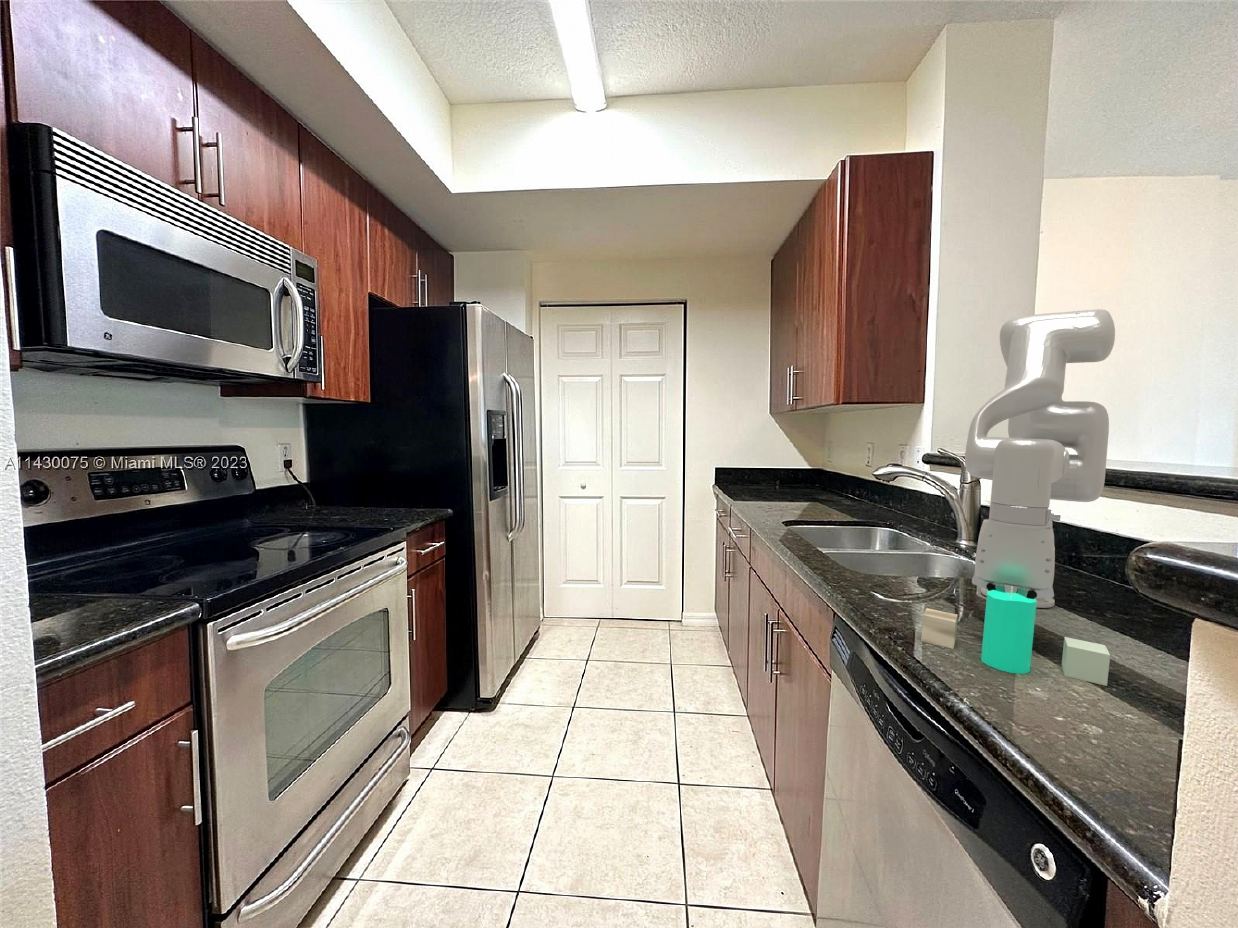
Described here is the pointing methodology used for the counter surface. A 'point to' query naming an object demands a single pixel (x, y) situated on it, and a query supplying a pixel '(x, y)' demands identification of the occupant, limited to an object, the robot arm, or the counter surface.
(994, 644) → the candle
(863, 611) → the counter surface
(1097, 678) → the sage block
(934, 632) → the birch block
